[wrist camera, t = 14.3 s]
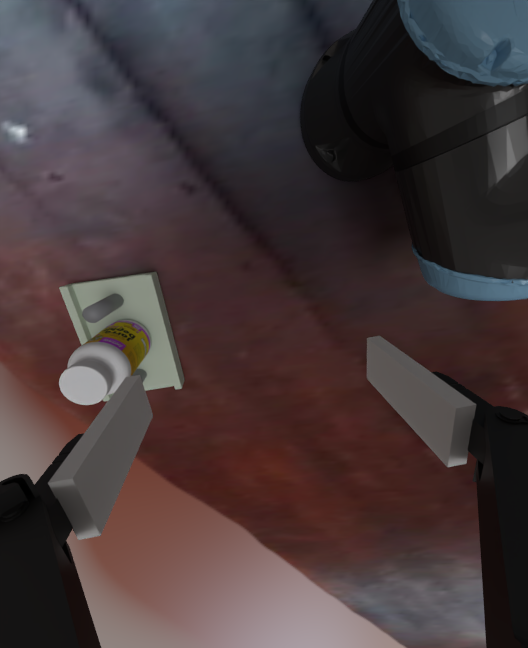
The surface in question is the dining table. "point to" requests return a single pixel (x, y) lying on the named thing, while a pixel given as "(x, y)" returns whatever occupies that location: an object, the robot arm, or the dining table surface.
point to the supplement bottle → (105, 362)
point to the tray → (128, 304)
